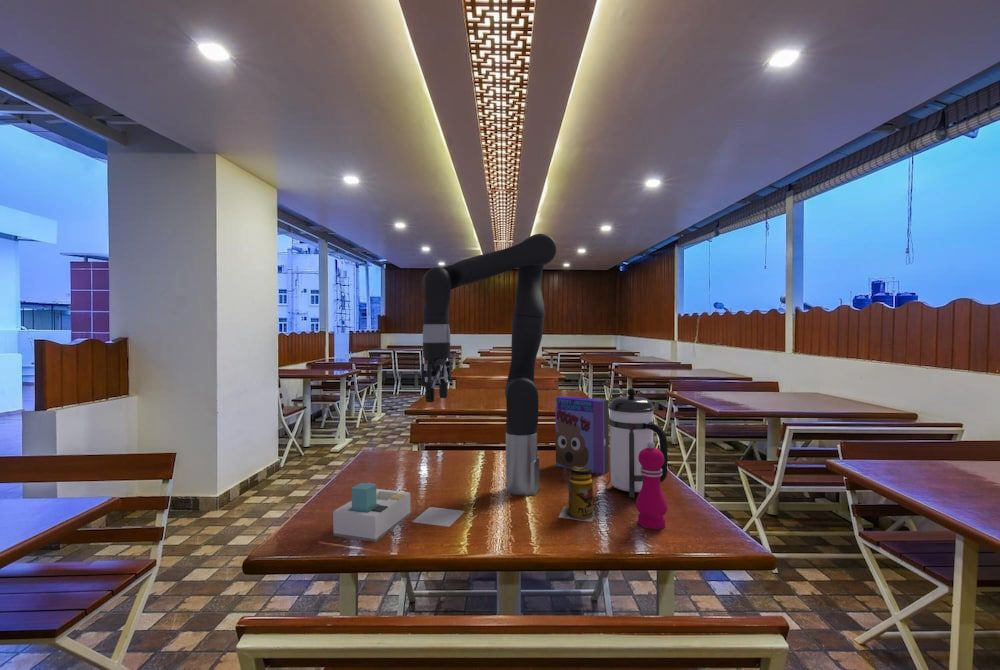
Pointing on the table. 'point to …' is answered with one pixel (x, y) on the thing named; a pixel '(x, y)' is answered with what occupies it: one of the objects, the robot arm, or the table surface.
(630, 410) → the coffee press
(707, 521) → the table surface
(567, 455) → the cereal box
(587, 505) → the condiment
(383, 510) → the socket box
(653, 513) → the pepper mill
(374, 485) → the plug
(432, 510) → the mat
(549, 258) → the robot arm
